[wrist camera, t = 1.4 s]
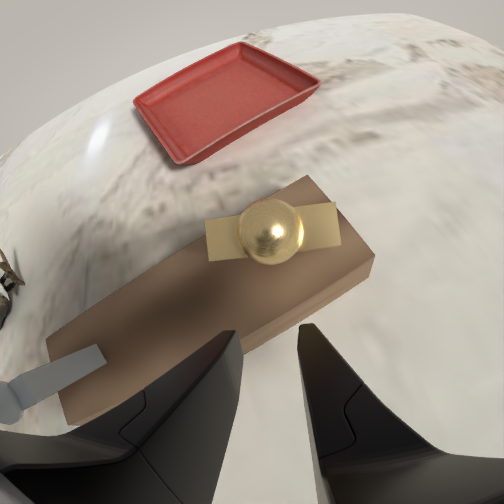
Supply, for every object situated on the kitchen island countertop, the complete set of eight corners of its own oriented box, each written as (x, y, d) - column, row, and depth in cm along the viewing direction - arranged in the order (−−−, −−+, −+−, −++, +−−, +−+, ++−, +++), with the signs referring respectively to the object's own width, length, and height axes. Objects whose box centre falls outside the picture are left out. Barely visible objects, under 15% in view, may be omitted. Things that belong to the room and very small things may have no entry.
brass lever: (330, 254, 19) (346, 256, 10) (253, 263, 20) (196, 274, 11) (326, 217, 19) (336, 182, 10) (249, 227, 20) (189, 205, 11)
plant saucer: (245, 56, 41) (240, 38, 38) (327, 103, 32) (324, 80, 29) (141, 116, 39) (130, 99, 37) (190, 186, 31) (176, 166, 28)
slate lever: (110, 367, 20) (24, 420, 10) (67, 390, 19) (-14, 438, 9) (93, 338, 20) (-1, 373, 10) (52, 363, 20) (-36, 399, 10)
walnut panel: (368, 277, 22) (375, 255, 19) (98, 425, 22) (68, 425, 18) (311, 203, 26) (307, 174, 23) (74, 347, 26) (45, 338, 22)
